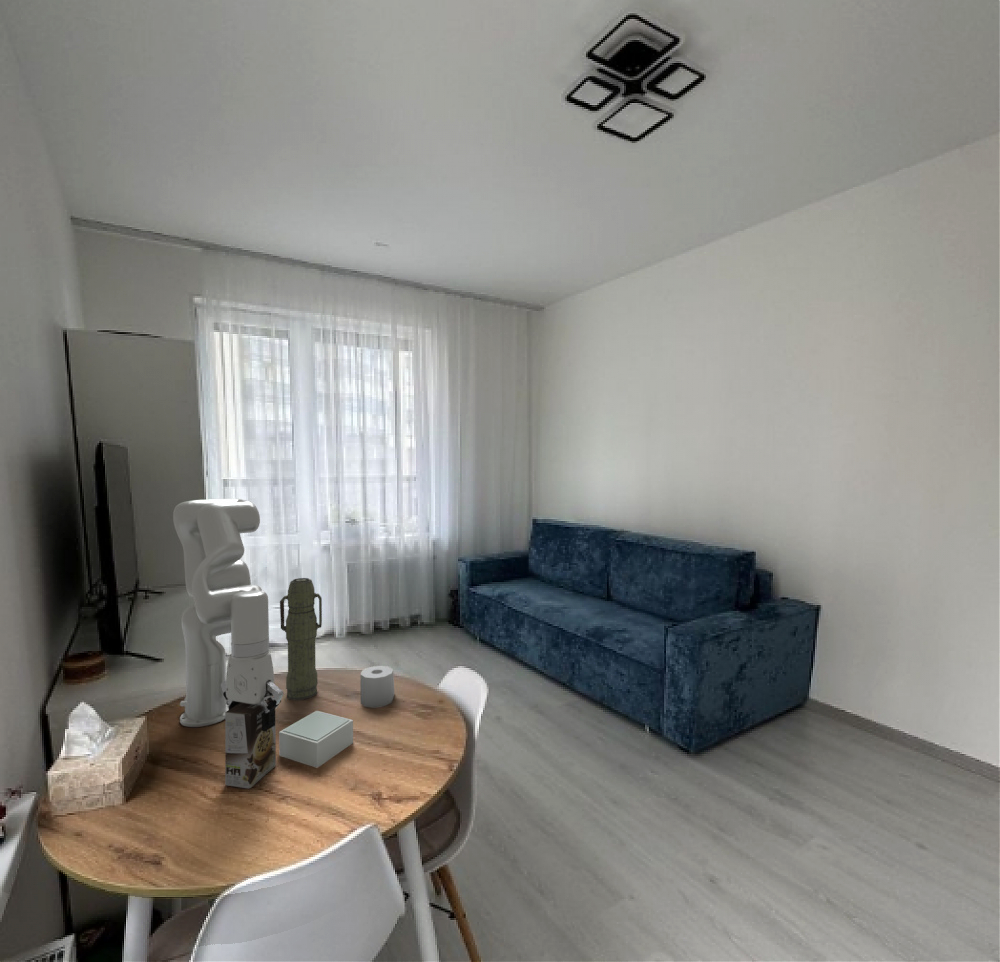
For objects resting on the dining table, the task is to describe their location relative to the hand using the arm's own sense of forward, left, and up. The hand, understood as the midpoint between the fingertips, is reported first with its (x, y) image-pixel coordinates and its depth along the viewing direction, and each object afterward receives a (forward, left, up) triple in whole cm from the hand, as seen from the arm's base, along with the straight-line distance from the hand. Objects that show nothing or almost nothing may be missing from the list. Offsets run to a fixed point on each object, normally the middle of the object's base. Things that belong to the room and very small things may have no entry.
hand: (252, 724), depth 114 cm
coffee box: (-1, 0, -12) cm, 12 cm away
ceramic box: (+5, +14, -12) cm, 19 cm away
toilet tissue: (+3, +43, -12) cm, 45 cm away
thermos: (-21, +37, -12) cm, 44 cm away
